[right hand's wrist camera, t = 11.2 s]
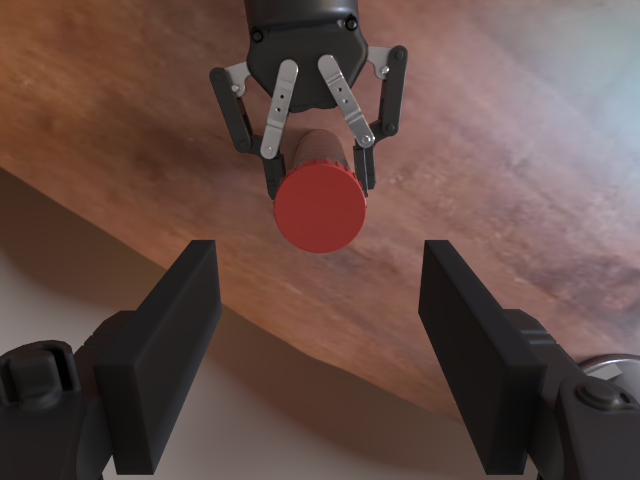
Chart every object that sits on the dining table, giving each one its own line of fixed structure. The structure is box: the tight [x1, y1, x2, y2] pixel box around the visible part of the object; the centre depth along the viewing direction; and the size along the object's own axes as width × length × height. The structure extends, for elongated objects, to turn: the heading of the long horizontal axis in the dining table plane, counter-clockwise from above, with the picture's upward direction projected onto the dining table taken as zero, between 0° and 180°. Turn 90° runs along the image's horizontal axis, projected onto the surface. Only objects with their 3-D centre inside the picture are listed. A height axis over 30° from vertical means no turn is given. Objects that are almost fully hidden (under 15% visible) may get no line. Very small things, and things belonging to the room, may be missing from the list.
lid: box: [273, 157, 367, 253], centre depth 22 cm, size 5×5×2 cm
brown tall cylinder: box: [290, 129, 350, 170], centre depth 30 cm, size 4×4×18 cm
